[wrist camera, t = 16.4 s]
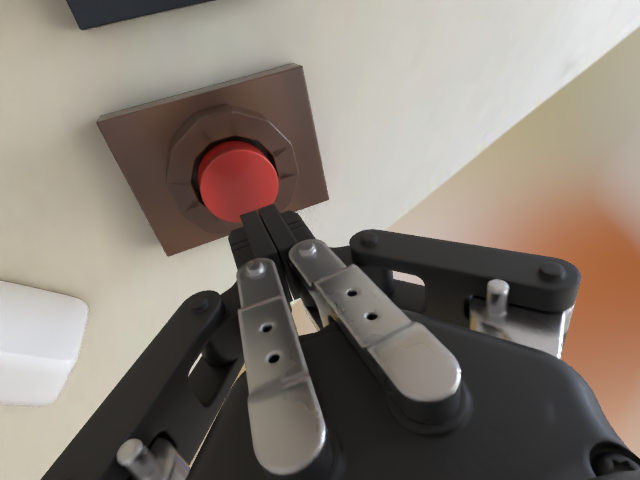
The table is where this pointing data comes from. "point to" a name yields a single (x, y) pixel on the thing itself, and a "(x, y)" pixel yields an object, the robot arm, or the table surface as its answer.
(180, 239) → the button block
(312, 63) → the table surface
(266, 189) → the button
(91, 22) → the switch bracket
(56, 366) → the power adapter
